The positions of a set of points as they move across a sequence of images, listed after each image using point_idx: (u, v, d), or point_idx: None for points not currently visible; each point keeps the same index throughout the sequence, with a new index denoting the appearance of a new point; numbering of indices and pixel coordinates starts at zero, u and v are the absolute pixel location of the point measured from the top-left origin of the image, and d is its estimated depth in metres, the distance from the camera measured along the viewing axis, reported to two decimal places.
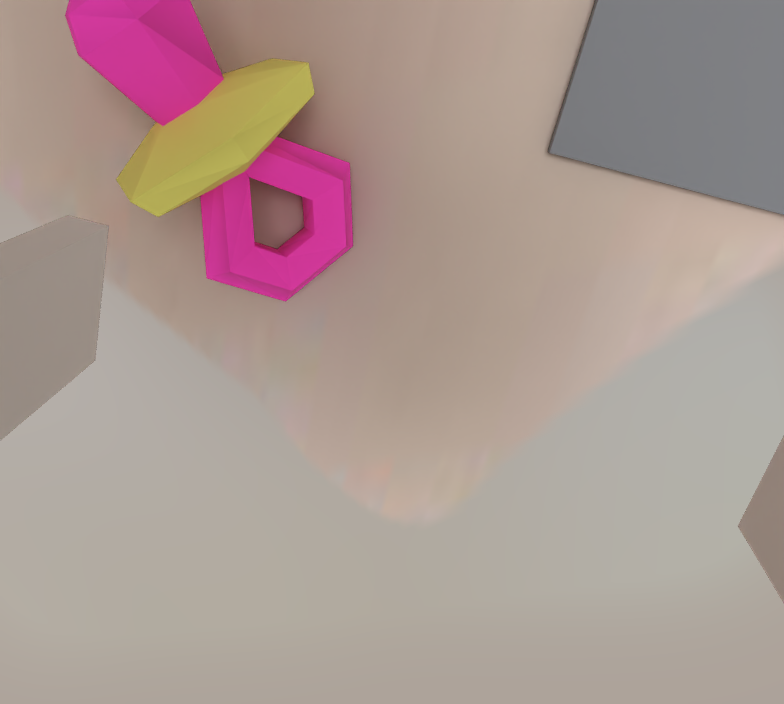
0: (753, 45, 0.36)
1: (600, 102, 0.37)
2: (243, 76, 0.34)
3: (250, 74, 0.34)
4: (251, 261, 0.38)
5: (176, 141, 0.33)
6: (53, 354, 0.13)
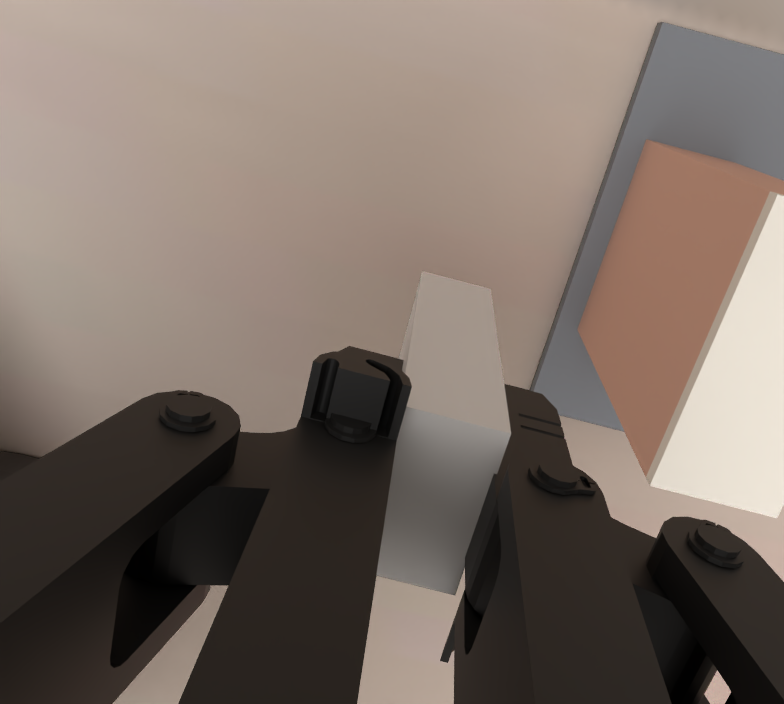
0: None
1: None
2: None
3: None
4: None
5: None
6: None
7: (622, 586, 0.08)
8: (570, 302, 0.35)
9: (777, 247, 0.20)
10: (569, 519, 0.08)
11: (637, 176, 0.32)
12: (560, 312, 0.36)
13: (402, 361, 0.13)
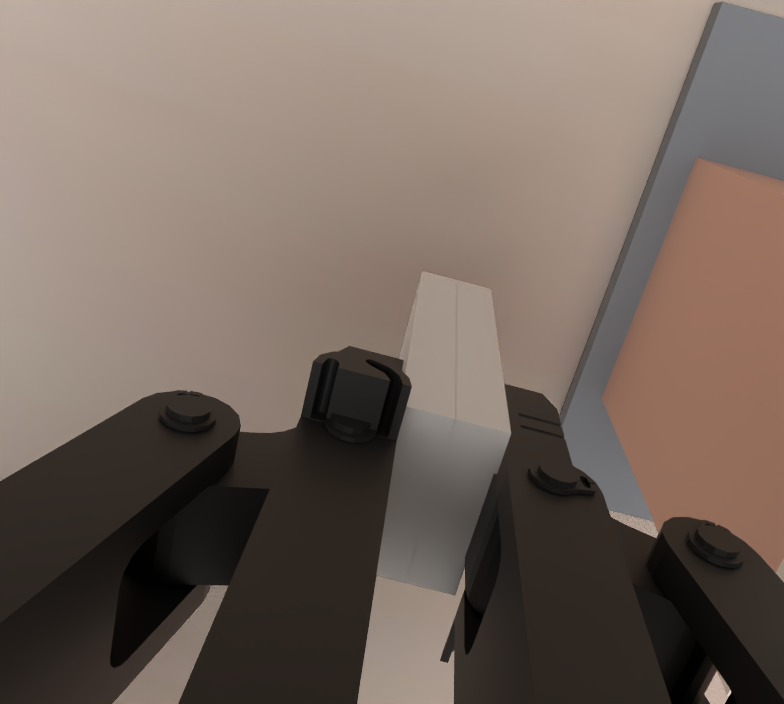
0: None
1: None
2: None
3: None
4: None
5: None
6: None
7: (622, 586, 0.08)
8: (593, 364, 0.27)
9: None
10: (569, 519, 0.08)
11: (684, 205, 0.24)
12: (579, 376, 0.28)
13: (402, 361, 0.13)
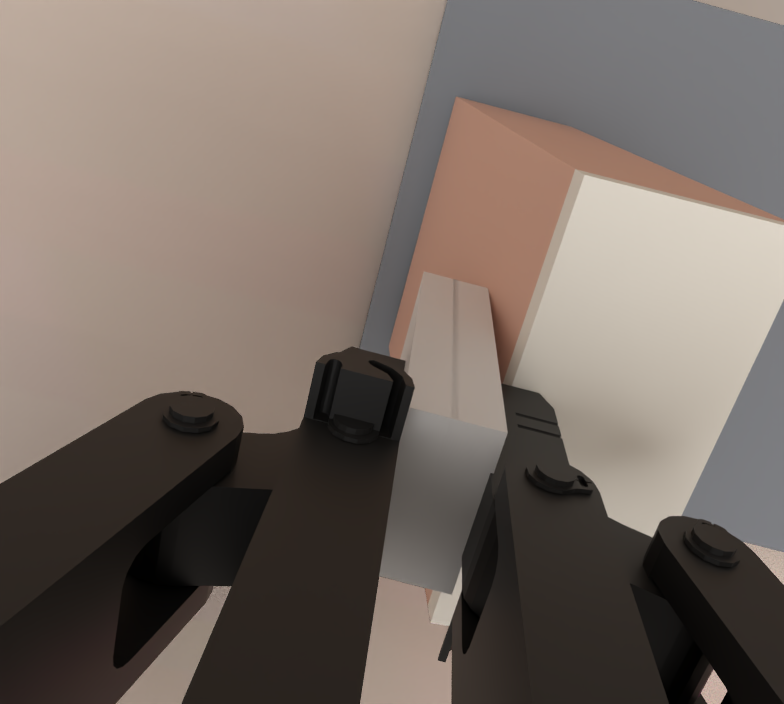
0: (779, 356, 0.27)
1: None
2: None
3: None
4: None
5: None
6: None
7: (619, 585, 0.08)
8: (377, 306, 0.28)
9: (591, 260, 0.12)
10: (566, 518, 0.08)
11: (446, 146, 0.24)
12: None
13: (404, 362, 0.13)
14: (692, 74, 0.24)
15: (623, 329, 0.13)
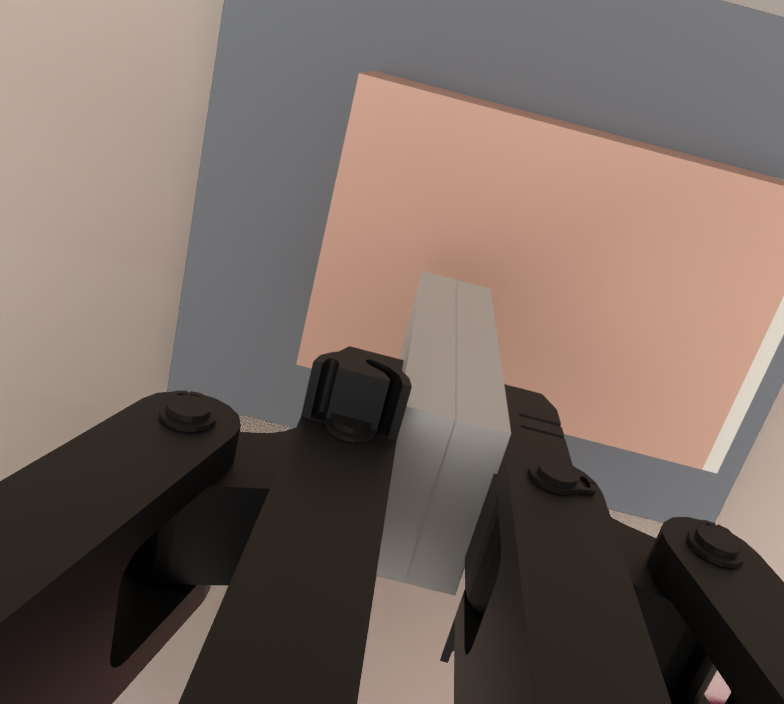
0: None
1: (652, 480, 0.29)
2: None
3: None
4: None
5: None
6: None
7: (622, 586, 0.08)
8: (193, 259, 0.27)
9: None
10: (569, 519, 0.08)
11: (371, 134, 0.21)
12: (185, 272, 0.28)
13: (402, 361, 0.13)
14: (486, 13, 0.24)
15: None
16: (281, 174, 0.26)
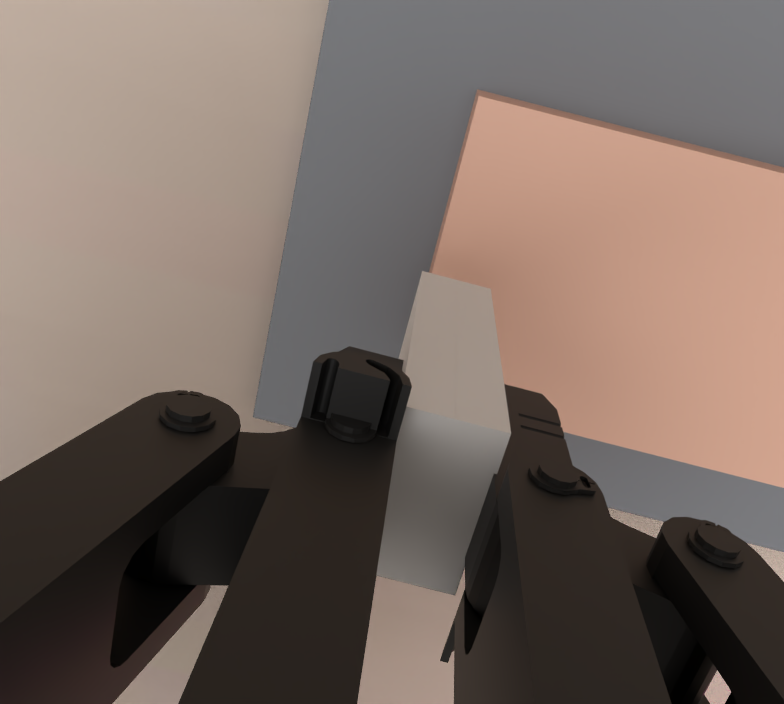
0: None
1: (750, 503, 0.28)
2: None
3: None
4: None
5: None
6: None
7: (623, 586, 0.08)
8: (285, 280, 0.27)
9: None
10: (570, 519, 0.08)
11: (489, 158, 0.21)
12: (276, 294, 0.27)
13: (402, 361, 0.13)
14: (596, 30, 0.23)
15: None
16: (378, 195, 0.25)
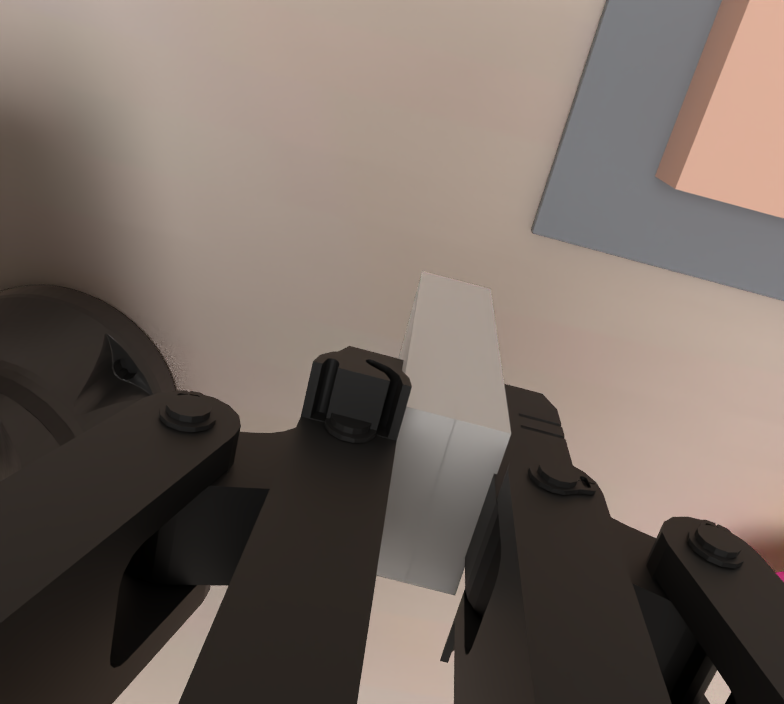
0: None
1: None
2: None
3: None
4: None
5: None
6: None
7: (622, 586, 0.08)
8: (572, 128, 0.39)
9: None
10: (569, 519, 0.08)
11: (757, 23, 0.33)
12: (563, 139, 0.39)
13: (402, 361, 0.13)
14: None
15: None
16: (647, 65, 0.37)
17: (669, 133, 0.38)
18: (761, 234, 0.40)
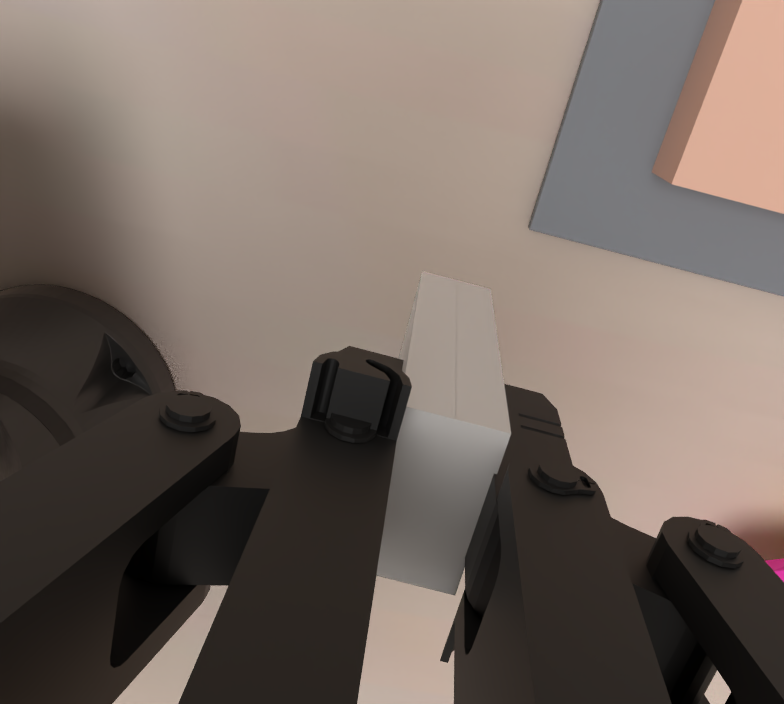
0: None
1: None
2: None
3: None
4: None
5: None
6: None
7: (622, 586, 0.08)
8: (568, 124, 0.39)
9: None
10: (569, 519, 0.08)
11: (752, 19, 0.33)
12: (559, 135, 0.39)
13: (402, 361, 0.13)
14: None
15: None
16: (643, 61, 0.37)
17: (665, 129, 0.38)
18: (757, 229, 0.40)
